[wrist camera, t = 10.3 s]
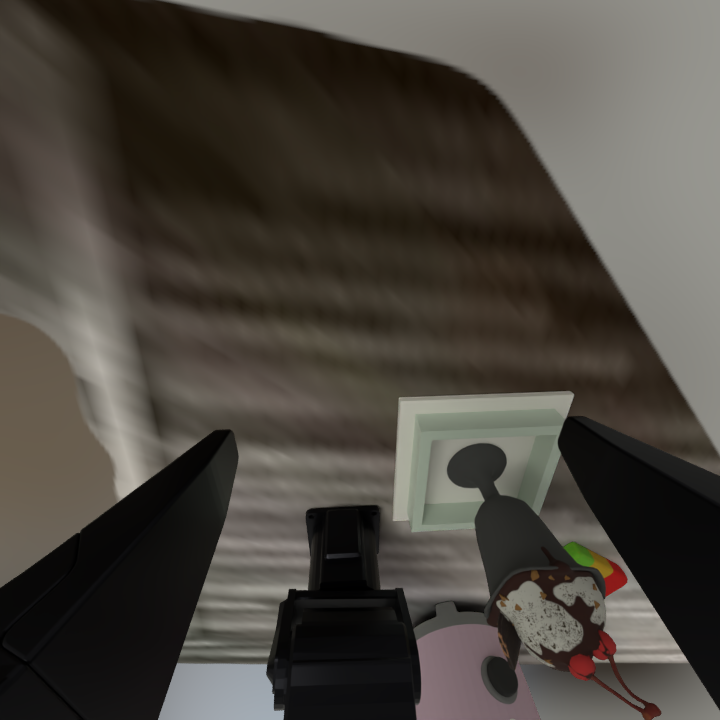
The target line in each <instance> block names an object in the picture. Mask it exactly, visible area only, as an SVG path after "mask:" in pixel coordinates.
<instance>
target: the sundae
mask: <svg viewBox="0 0 720 720" xmlns="http://www.w3.org/2000/svg"><path fill="white" fill-rule="evenodd" d="M506 464H507V459H506V455H505V453H504V452H503V450H502V449H501V448H499V447H497V446H495V445H492V444H486V443H478V444H473V445H470V446H467V447H465V448H463V449H461V450H460V451H458V452H457V453H456V454H455V455H454V456H453V457H452V458H451V460H450V461H449V463H448V466H447V474H448V478H449V479H450V480H451V481H452V482H453V483H454V484H455V485H457V486H459V487H463V488H479V490H480V492H481V494H482V496H483V498H484V500H485V501H484V502H483V503H482V505H481V506H480V508H479V510H478V512H477V514H476V516H475V520H474V523H475V530H476V536H477V541H478V546H479V550H480V553H481V557H482V561H483V565H484V569H485V572H486V577H487V582H488V587H489V592H490V599H489V601H488V603H487V605H486V607H485V610H484V616H485V617H486V621H487V623H488V624H489V625H490V626H492V627H496V628H498V638H499V643H500V645H501V648H502V651H503V653H504V655H505V657H506V658H507V661H508V664H509V667H510V669H512V670H514V671H515V669H516V666H517V661H518V655H519V650H520V645H521V641H522V642H523V644H524V646H525V647H526V649H527V650H528V652H529V653H530V655H532V656H533V657H535V658H536V659H538V660H539V661H541V662H542V663H544V664H546V665H547V666H549V667H551V668H552V669H555V670H559V671H567V672H571V674H572V675H574V676H575V677H576V678H578V679H582V680H585V681H586V680H590V679H591V680H594V681H595V682H597V683H598V684H599V685H601V686H602V687H604V688H605V689H607V690H608V691H610V692H612V693H613V694H614V695H616V696H617V697H618V698H620V699H621V700H623V701H624V702H625V703H627V704H628V705H630V706H631V707H633V708H634V709H636V710H638V711H639V712H641V713H642V715H643V718H644V719H645V720H652V719H653V718H654V717H656V716H660V715H661V711H660V709H659V708H658V707H657V706H656V705H655V704H653V703H648V702H646V701H644V700H642V699H640V698H639V697H637V696H636V695H634V694H633V693H632V692H631V691H630V690H629V689H628V688H627V686H626V685H625V684H624V682H623V680H622V678H621V676H620V674H619V673H618V670H617V668H616V665H615V662H614V658H613V655H614V653H615V652H616V644H615V643H614V641H613V640H612V638H611V637H610V636H609V635H608V634H607V633H605V632H604V631H603V629H604V627H605V622H606V607H605V603H604V599H605V596H606V585H605V580H604V578H603V576H602V574H601V573H600V571H599V570H598V569H596V568H594V567H588V566H582V565H580V564H579V563H577V562H576V561H575V560H574V559H573V558H572V557H571V555H570V554H569V553H568V552H567V551H566V550H565V549H564V548H563V547H562V546H561V544H560V543H559V542H558V541H557V539H556V538H555V537H554V535H553V534H552V533H551V532H550V530H549V529H548V528H547V526H546V525H545V524H544V522H543V521H542V520H541V519H540V518H539V516H538V515H537V514H536V513H535V512H534V511H533V510H532V509H531V508H530V506H529V505H528V504H527V503H526V502H525V501H523V500H520V499H517V498H514V497H511V496H506V495H500V494H499V492H498V490H497V488H496V486H495V484H494V481H496V480H497V479H498V478H499V477H500V476H501V475H502V473H503V472H504V469H505V467H506ZM593 656H595V657H596V658H598V659H600V660H605V659H609V661H610V663H611V666H612V668H613V671H614V673H615V675H616V677H617V679H618V680H619V682H620V683H621V685H622V686H623V687H624V688H625V690H626V691H627V692H628V693H629V694H630V695H631V696H632V697H633V698H635V699H636V700H637V701H639V702H641V703H643V704H644V705H645V708H644V709H642V708H640V707H638V706H635V705H634V704H632V703H631V702H629V701H628V700H626V699H625V698H624V697H622V696H621V695H620V694H618V693H617V692H616V691H614V690H612V689H611V688H609V687H608V686H607V685H605V684H604V683H603V682H601V681H600V680H599V679H598V678H597V677H595V676H594V673H595V669H596V667H595V664H594V661H593V660H592V657H593Z"/></svg>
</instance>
